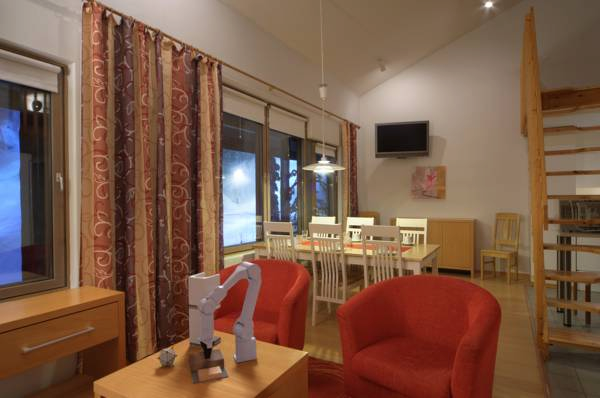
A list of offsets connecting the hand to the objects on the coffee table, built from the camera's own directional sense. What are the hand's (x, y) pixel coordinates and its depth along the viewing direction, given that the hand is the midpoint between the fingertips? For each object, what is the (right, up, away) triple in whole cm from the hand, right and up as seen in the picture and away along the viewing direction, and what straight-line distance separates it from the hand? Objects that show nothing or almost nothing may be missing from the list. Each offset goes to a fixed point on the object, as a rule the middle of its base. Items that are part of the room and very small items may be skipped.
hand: (207, 358), depth 160 cm
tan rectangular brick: (+3, -3, -6) cm, 7 cm away
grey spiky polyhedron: (-19, -5, +4) cm, 20 cm away
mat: (+2, -5, -5) cm, 8 cm away
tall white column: (-8, -5, +28) cm, 29 cm away
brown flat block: (-2, -5, +4) cm, 6 cm away
